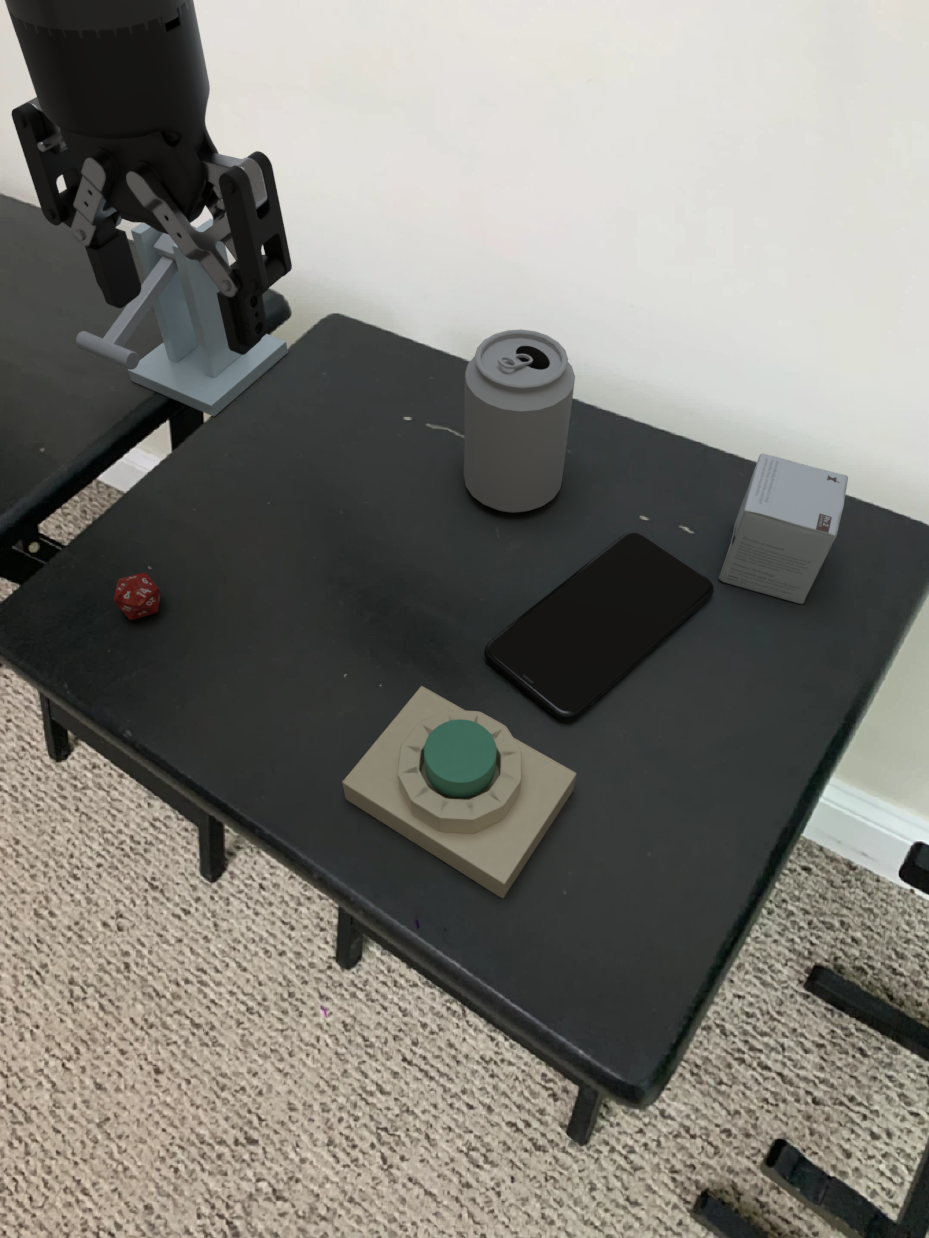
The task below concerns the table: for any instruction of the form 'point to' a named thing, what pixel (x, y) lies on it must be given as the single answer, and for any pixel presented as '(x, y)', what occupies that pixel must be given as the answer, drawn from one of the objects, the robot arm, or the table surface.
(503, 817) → the green push button box
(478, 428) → the can
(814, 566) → the white cardboard box
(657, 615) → the smartphone
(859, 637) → the table surface
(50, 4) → the robot arm
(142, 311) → the flush lever
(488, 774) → the flush button
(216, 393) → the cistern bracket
